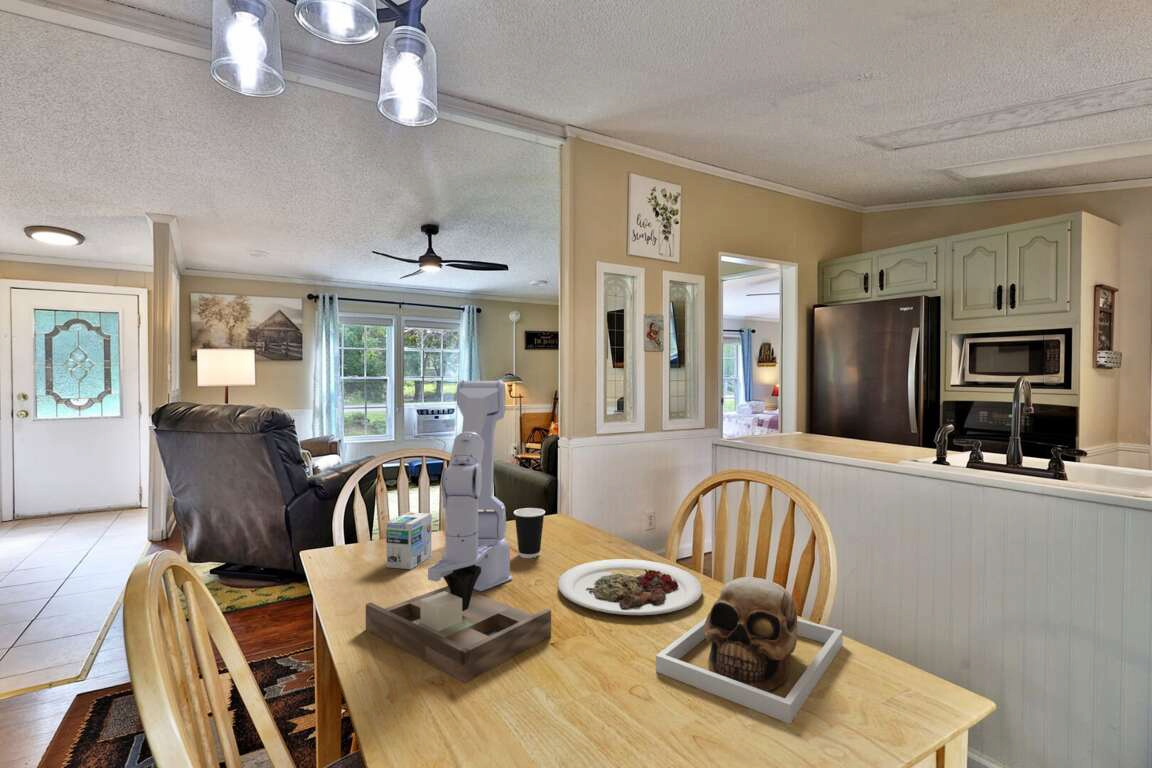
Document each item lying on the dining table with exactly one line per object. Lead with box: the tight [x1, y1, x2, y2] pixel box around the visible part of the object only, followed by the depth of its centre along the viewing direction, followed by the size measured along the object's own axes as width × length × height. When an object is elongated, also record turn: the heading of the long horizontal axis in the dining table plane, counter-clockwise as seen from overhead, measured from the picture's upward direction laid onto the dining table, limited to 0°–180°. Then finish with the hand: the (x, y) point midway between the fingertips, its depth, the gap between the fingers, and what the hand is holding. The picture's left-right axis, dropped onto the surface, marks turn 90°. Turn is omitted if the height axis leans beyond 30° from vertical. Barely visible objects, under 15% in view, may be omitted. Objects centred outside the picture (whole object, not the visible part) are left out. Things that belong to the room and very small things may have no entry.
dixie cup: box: [513, 507, 546, 559], centre depth 138 cm, size 8×8×11 cm
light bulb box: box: [385, 511, 433, 570], centre depth 133 cm, size 11×7×11 cm, turn 168°
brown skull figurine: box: [704, 576, 798, 693], centre depth 86 cm, size 16×18×14 cm
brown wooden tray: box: [365, 585, 552, 684], centre depth 96 cm, size 19×27×4 cm
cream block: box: [420, 591, 462, 631], centre depth 95 cm, size 5×5×4 cm
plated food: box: [557, 558, 703, 616], centre depth 116 cm, size 30×30×3 cm
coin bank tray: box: [655, 615, 843, 725], centre depth 88 cm, size 27×20×2 cm
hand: (461, 608), depth 98 cm, fingers closed
